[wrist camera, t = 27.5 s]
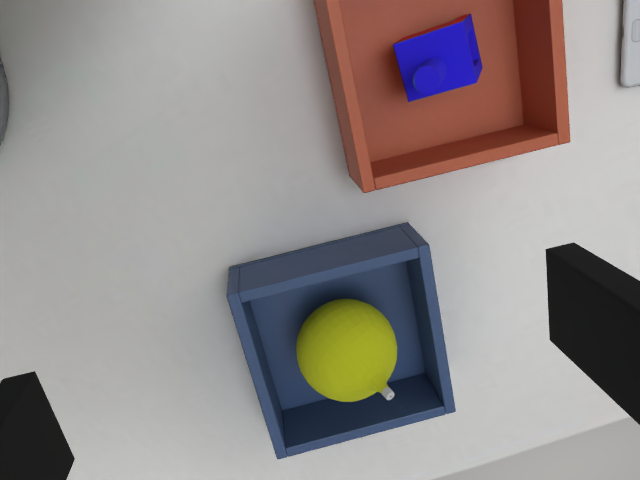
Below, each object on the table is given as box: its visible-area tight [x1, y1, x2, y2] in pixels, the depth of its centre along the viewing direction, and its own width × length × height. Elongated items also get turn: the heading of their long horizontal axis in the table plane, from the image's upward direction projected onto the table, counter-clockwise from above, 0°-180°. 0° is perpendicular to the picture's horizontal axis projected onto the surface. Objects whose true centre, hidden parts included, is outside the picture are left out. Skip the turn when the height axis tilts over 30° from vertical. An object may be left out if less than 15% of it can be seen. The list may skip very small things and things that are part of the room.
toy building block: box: [393, 13, 483, 102], centre depth 33 cm, size 4×4×8 cm
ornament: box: [296, 299, 401, 407], centre depth 37 cm, size 7×7×10 cm
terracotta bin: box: [314, 0, 570, 193], centre depth 34 cm, size 14×14×5 cm
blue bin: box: [227, 222, 455, 459], centre depth 39 cm, size 14×14×5 cm
